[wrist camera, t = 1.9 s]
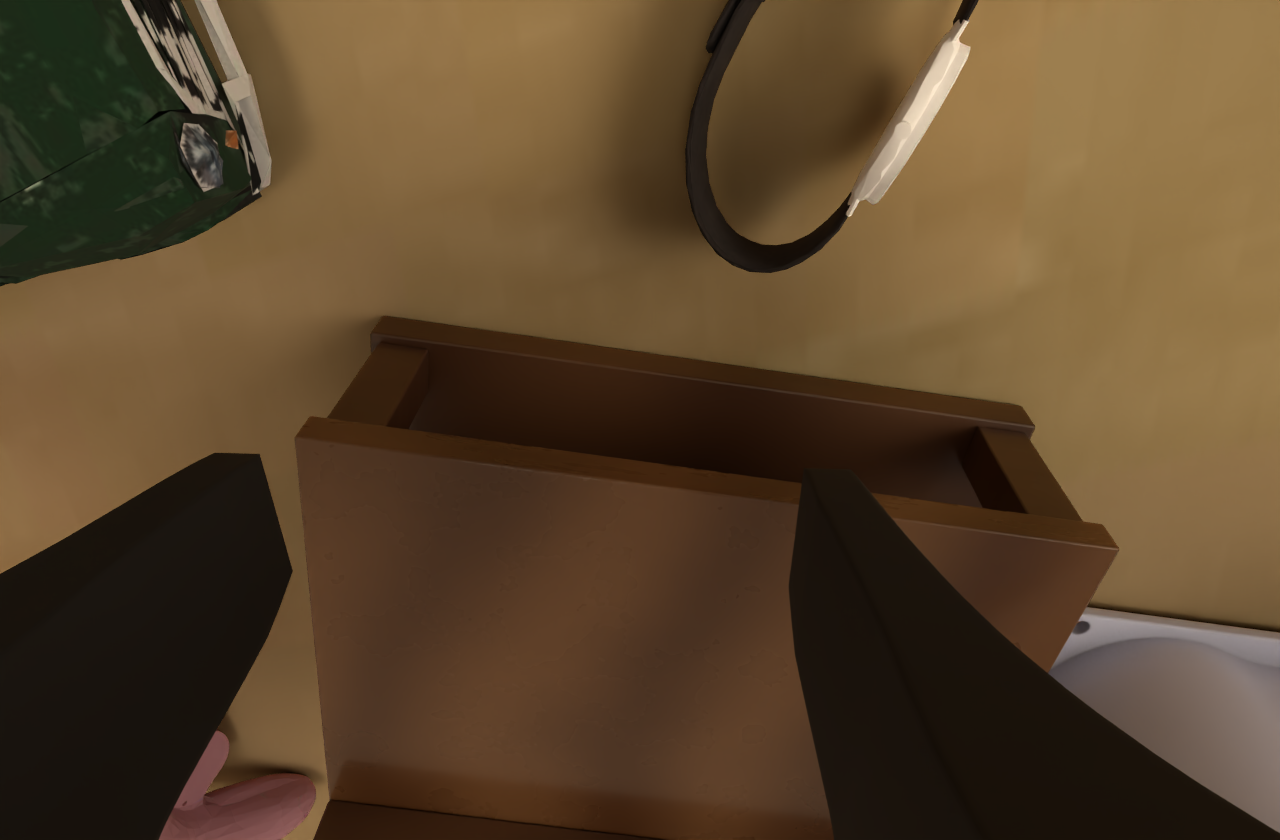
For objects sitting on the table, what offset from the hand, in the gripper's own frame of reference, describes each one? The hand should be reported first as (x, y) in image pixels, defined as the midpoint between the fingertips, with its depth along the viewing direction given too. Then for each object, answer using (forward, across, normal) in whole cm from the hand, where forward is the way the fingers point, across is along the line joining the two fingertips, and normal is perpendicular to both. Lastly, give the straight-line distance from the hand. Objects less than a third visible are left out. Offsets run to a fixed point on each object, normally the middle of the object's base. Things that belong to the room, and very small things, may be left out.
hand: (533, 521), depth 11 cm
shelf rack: (+10, -2, +8) cm, 13 cm away
